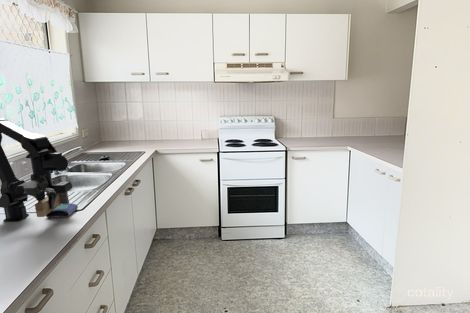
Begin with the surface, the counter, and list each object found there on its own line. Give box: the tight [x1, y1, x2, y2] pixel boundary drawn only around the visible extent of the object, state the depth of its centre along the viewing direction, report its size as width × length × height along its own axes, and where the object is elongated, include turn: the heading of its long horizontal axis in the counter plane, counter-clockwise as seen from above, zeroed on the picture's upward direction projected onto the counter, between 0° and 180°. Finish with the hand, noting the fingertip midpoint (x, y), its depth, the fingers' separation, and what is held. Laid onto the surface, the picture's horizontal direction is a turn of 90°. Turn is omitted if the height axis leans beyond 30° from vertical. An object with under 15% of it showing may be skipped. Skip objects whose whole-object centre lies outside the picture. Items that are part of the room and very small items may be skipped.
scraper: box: [34, 190, 70, 218], centre depth 124 cm, size 13×8×6 cm, turn 179°
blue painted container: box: [45, 203, 79, 219], centre depth 134 cm, size 9×3×11 cm
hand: (47, 208), depth 123 cm, fingers closed on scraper, 2 cm apart
